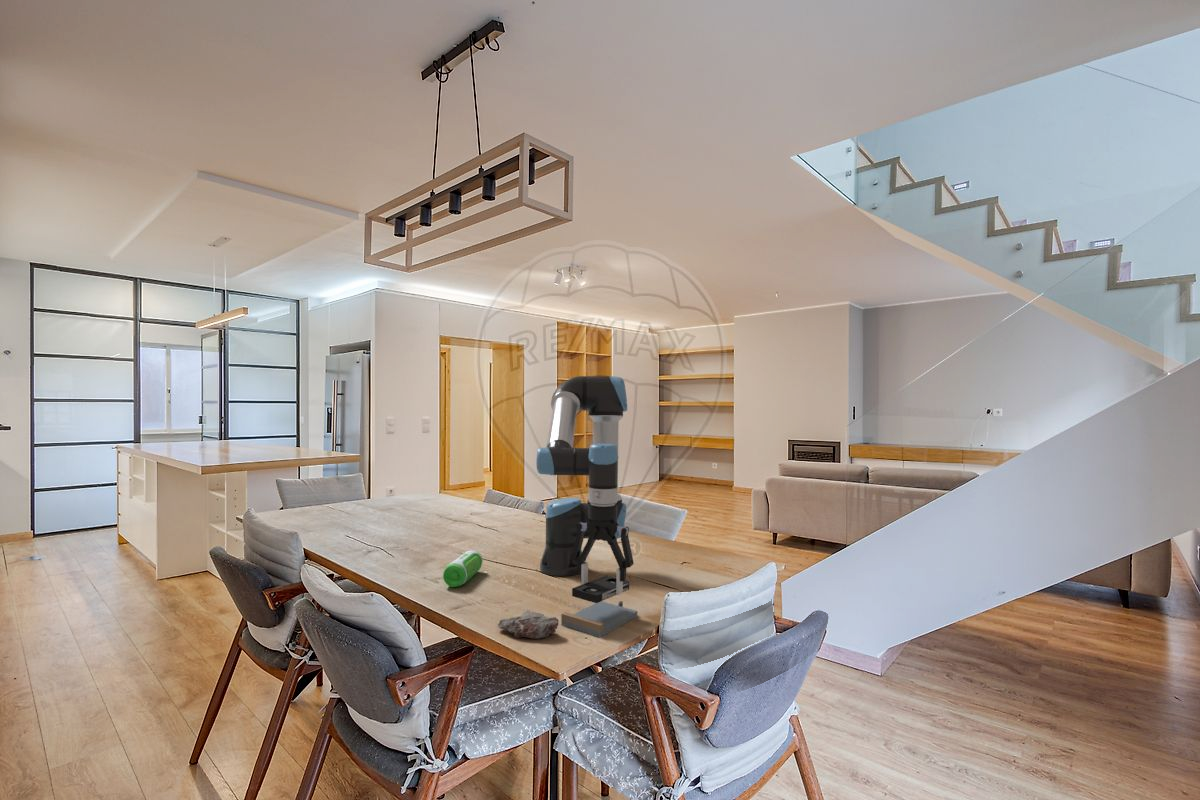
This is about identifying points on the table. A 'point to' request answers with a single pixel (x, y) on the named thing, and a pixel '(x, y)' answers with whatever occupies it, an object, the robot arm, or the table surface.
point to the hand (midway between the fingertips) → (601, 590)
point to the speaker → (462, 568)
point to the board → (598, 618)
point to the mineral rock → (530, 625)
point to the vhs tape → (598, 589)
